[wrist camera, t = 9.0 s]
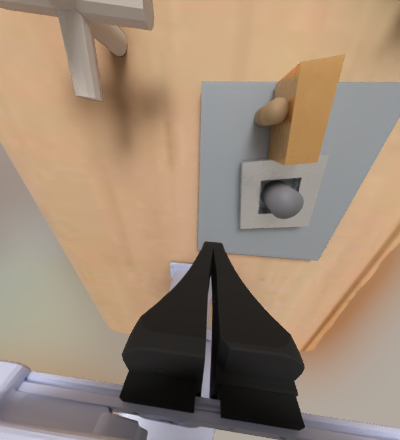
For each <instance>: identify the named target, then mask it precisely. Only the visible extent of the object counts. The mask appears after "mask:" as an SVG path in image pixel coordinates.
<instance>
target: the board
mask: <svg viewBox="0 0 400 440" xmlns="http://www.w3.org/2000/svg"><path fill="white" fill-rule="evenodd" d="M277 83H278V82H202V91H201V132H200V173H199V215H198V251H201V249H202V246H203V243H204V242H205V241H207V242H219V243H222V244H223V246H224V249H225V252H226V253H232V254H244V255H256V256H267V257H279V258H291V259H302V260H314V261H318V260H319V258H320V256H321V255H322V253H323V251H324V249H325V247H326V246H327V244H328V242H329V240H330V239H331V237H332V235H333V233H334V232H335V230H336V228H337V226H338V225H339V223H340V221H341V219H342V217H343V216H344V214H345V212H346V210H347V209H348V207H349V205H350V203H351V202H352V200H353V198H354V196H355V195H356V193H357V191H358V189H359V187H360V186H361V184H362V182H363V180H364V179H365V177H366V175H367V173H368V172H369V170H370V168H371V166H372V165H373V163H374V161H375V159H376V157H377V156H378V154H379V152H380V150H381V149H382V147H383V145H384V143H385V142H386V140H387V138H388V136H389V135H390V133H391V131H392V129H393V127H394V126H395V124H396V122H397V120H398V119H399V117H400V83H394V82H338V85H337V89H336V93H335V96H334V100H333V104H332V108H331V112H330V116H329V120H328V124H327V127H326V131H325V135H324V139H323V143H322V147H321V151H320V153H323V154H329V157H328V161H327V164H326V168H325V171H324V175H323V178H322V182H321V185H320V189H319V192H318V196H317V199H316V203H315V206H314V210H313V213H312V217H311V220H310V224H309V226H306V227H279V228H251V229H240V225H239V212H240V170H241V161H246V160H256V159H267V158H268V151H269V142H270V132H271V125H269V126H264V127H258V126H257V125H256V124H255V122H254V116H255V113H256V112H257V110H258V109H260V108H261V107H263V106H264V105H266V104H268V103H269V102H271V101H272V100H274V94H275V85H276V84H277ZM295 179H296V178H289V179H276V180H263V181H261V187H260V198H259V209H258V210H262V209H269V210H270V211H271V213H272V214H273V215H274V216H275V217H277V218H280V219H288V218H291V217H293V216H295V215H296V214H298V213H299V212H300V210H301V209H302V207H303V204H304V199H303V197H302V195H301V194H300V193H298V192H297V191H296V190H294V184H295Z"/></svg>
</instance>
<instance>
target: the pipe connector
mask: <svg viewBox="0 0 400 440" xmlns="http://www.w3.org/2000/svg"><path fill="white" fill-rule="evenodd" d="M0 8H4V9H7V10H13V11H20V12H27V13H34V14H41V15H48V16H55V17H58V18H59V22H60V27H61V31H62V36H63V41H64V45H65V50H66V54H67V59H68V63H69V68H70V72H71V77H72V81H73V86H74V90H75V95H76V96H77V97H81V98H84V99H89V100H94V101H101V102H103V95H102V89H101V82H100V75H99V69H98V62H97V55H96V49H95V42H94V38H95V39H96V40H98V41H99V42H100V43H101V44H103V45H104V46H105V47H106V48H108V49H109V50H110V51H111V52H113V53H114V54H115V55H117V56H122V55H124V54H125V52H126V50H127V40H126V37H125V35H124V33H123V32H122V31H121V30H120V28H119V27H118V26H123V27H130V28H137V29H144V30H151V31H152V28H153V23H154V12H153V2H152V0H0Z"/></svg>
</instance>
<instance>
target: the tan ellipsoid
mask: <svg viewBox="0 0 400 440" xmlns="http://www.w3.org/2000/svg"><path fill="white" fill-rule="evenodd" d="M288 112H289V104H288V101H287V100H286V99H285V98H282V97H278V98H275V99H274V100H272V101H271V102H269V103H268V104H266V105H264V106H263V107H261V108H260V109H258V110H257V112H256V113H255V116H254V122H255V124H256V125H257V126H258V127H264V126H269V125H274V124H278V123H280V122H282V121H283V120H284V119H285V118H286V116H287V114H288Z"/></svg>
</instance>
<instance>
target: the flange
mask: <svg viewBox="0 0 400 440" xmlns="http://www.w3.org/2000/svg"><path fill="white" fill-rule="evenodd" d="M344 58H345V55H339V56H333V57H328V58H322V59H316V60H310V61H305V62H301V63H299V64H298V65H297V66H296V67H295V68H294V69H293V70H292V71H290V72H289V73H288V74H287V75H286V76H285V77H284V78H282V79H281V80H280V81H279V82H278V83H277V84H276V85H275V94H274V99H275V98H278V97H282V98H285V99H286V100H287V101H288V104H289V112H288V114H287V116H286V118H285V119H284V120H283V121H282V122H280V123H278V124H274V125H271V132H270V142H269V151H268V158H267V159H256V160H246V161H241V170H240V212H239V225H240V229H251V228H279V227H306V226H309V224H310V220H311V217H312V213H313V210H314V206H315V203H316V199H317V196H318V192H319V189H320V185H321V182H322V178H323V175H324V171H325V168H326V164H327V161H328V157H329V154H323V153H320V151H321V147H322V143H323V139H324V135H325V131H326V127H327V124H328V120H329V116H330V112H331V108H332V104H333V100H334V96H335V93H336V89H337V85H338V81H339V77H340V73H341V69H342V65H343V61H344ZM289 178H296V179H295V184H294V190H296V191H297V192H298V193H300V194H301V195H302V197H303V199H304V204H303V207H302V209H301V210H300V212H299V213H298V214H296V215H295V216H293V217H291V218H288V219H280V218H277V217H275V216H274V215H273V214H272V213H271V211H270V210H269V209H262V210H258V209H259V198H260V187H261V181H263V180H276V179H289Z"/></svg>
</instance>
